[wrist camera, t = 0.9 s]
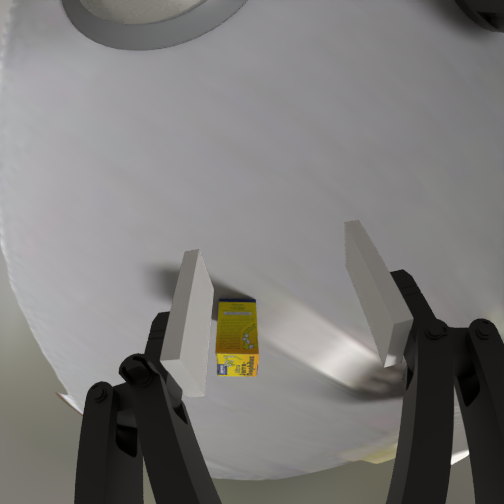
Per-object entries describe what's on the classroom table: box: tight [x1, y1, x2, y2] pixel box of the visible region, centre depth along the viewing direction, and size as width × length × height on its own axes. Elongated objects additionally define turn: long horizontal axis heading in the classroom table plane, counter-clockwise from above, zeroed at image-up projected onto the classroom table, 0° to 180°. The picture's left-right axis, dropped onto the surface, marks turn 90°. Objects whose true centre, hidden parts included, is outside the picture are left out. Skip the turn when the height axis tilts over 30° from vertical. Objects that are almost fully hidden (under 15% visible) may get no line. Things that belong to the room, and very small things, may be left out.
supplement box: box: [215, 299, 259, 376], centre depth 46 cm, size 6×6×11 cm
